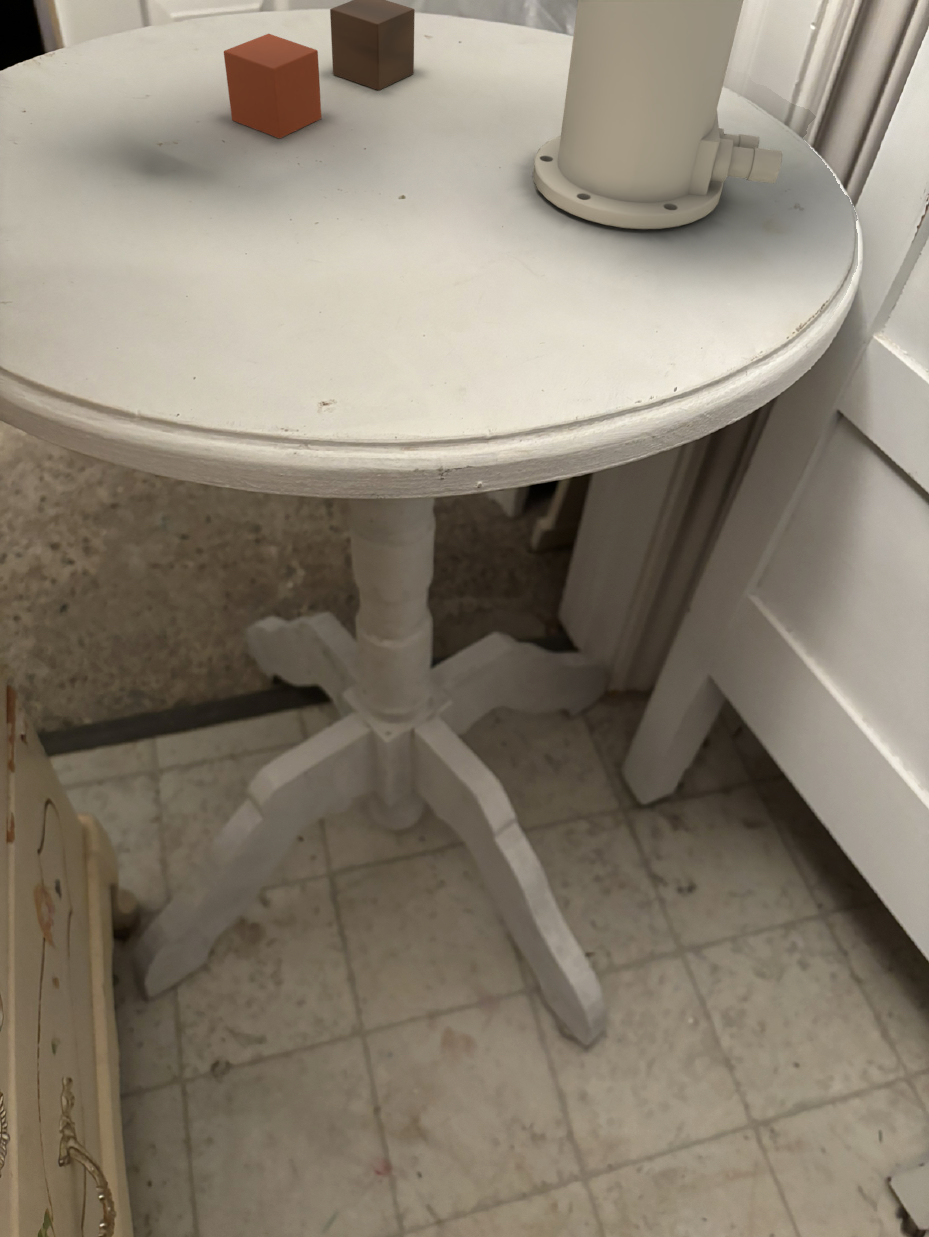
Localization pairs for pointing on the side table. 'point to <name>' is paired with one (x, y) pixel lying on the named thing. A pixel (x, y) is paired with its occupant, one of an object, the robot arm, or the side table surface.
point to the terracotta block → (273, 85)
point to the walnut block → (372, 42)
